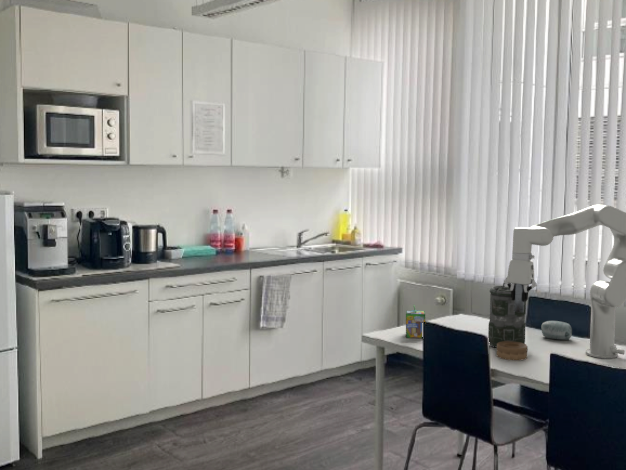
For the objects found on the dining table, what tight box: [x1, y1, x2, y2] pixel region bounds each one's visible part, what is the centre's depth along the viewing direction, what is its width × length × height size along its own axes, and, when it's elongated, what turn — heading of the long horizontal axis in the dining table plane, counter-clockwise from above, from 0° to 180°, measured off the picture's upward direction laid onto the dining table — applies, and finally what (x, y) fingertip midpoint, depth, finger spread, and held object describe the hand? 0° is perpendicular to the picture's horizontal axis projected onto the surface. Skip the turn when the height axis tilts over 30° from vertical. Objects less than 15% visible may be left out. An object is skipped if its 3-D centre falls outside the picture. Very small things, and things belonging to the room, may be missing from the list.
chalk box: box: [405, 304, 426, 339], centre depth 331 cm, size 9×9×15 cm
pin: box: [514, 283, 524, 313], centre depth 293 cm, size 4×4×14 cm
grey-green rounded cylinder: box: [540, 320, 573, 341], centre depth 327 cm, size 14×10×10 cm
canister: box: [487, 282, 527, 349], centre depth 312 cm, size 16×16×28 cm
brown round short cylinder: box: [496, 341, 528, 361], centre depth 296 cm, size 12×12×5 cm
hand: (519, 300), depth 293 cm, fingers closed on pin, 4 cm apart
